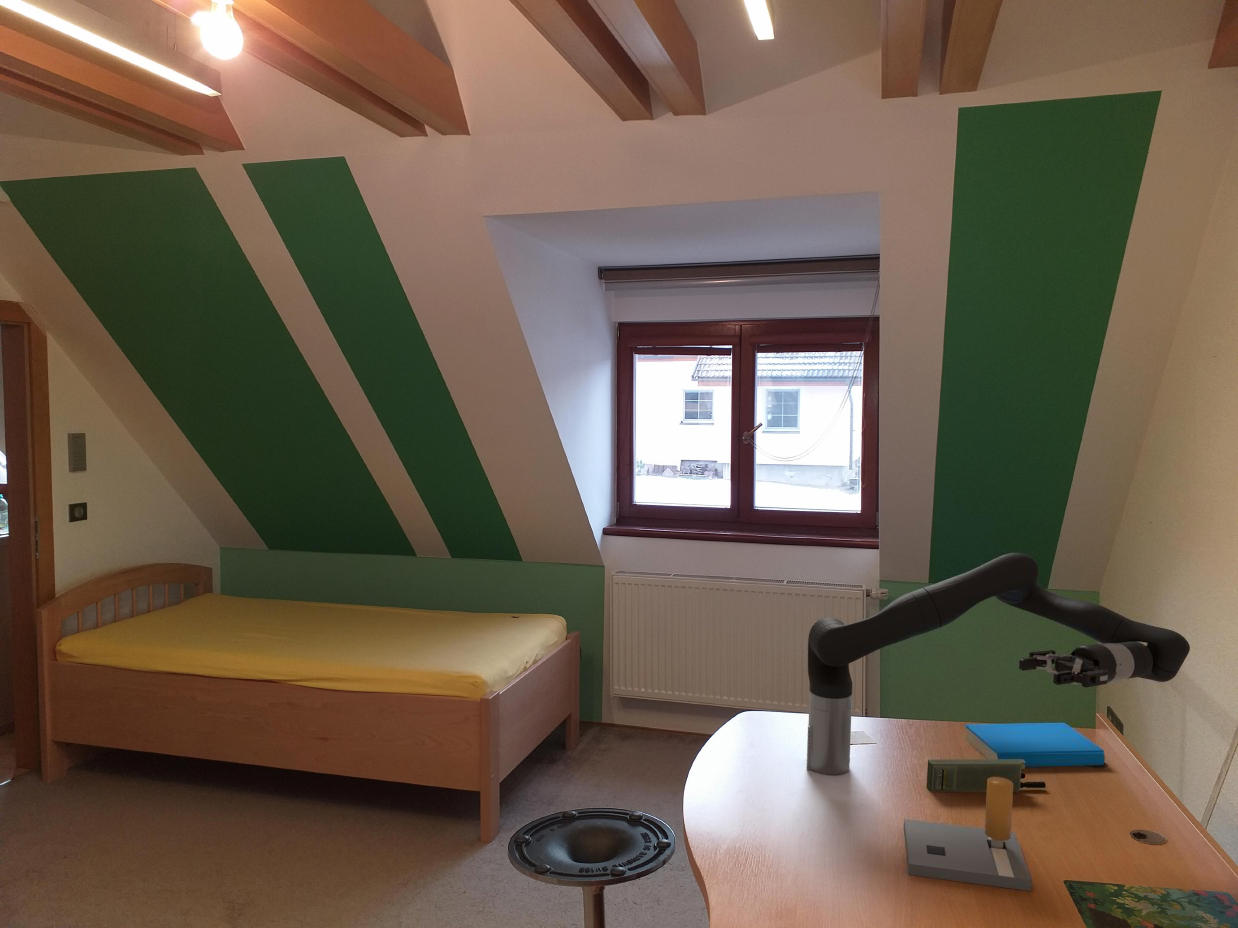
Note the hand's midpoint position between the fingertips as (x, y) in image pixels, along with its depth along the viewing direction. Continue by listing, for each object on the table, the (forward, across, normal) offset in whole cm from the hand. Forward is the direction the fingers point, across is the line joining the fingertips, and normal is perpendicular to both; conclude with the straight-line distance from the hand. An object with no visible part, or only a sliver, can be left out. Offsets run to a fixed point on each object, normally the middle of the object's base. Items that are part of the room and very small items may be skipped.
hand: (1037, 671), depth 176 cm
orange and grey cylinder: (+12, +5, +32) cm, 34 cm away
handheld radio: (-5, -17, +32) cm, 37 cm away
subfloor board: (+19, +4, +32) cm, 37 cm away
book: (-29, -29, +32) cm, 52 cm away
